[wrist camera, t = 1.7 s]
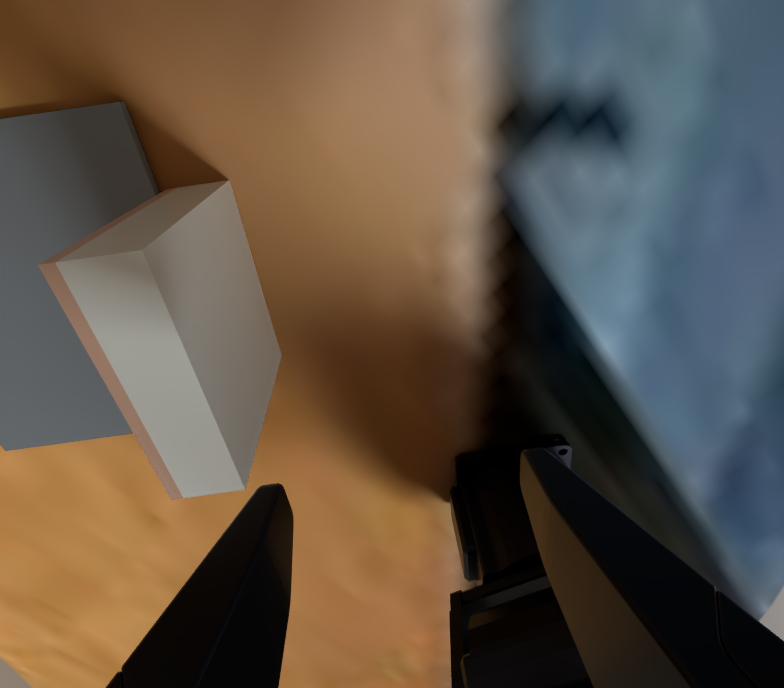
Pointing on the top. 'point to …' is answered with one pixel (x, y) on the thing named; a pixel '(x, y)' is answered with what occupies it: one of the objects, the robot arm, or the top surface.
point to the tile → (177, 332)
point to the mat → (45, 239)
